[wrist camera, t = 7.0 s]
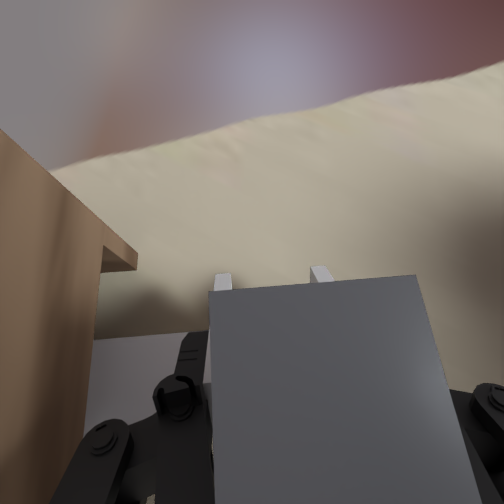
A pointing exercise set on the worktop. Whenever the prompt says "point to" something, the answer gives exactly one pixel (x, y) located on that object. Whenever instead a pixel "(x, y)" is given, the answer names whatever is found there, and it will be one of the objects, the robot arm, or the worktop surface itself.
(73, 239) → the walnut stool
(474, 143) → the worktop surface
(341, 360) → the grey block with plate
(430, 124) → the worktop surface
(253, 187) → the worktop surface
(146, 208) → the worktop surface
